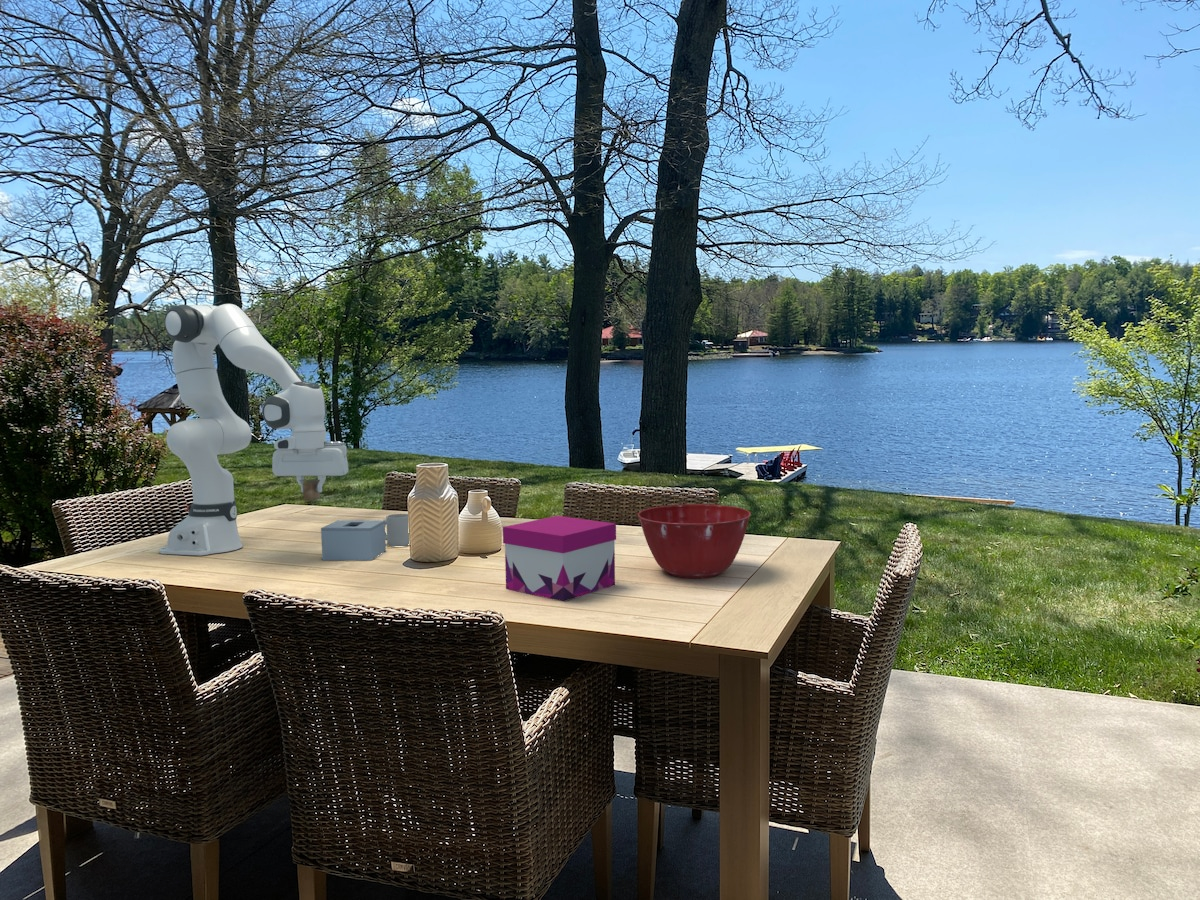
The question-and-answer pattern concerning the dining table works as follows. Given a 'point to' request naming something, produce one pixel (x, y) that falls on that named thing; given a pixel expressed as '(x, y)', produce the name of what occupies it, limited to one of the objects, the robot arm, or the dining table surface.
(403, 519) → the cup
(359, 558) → the money box
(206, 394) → the robot arm
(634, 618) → the dining table surface
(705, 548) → the mixing bowl
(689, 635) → the dining table surface
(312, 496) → the tile
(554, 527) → the decorative box
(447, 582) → the dining table surface
